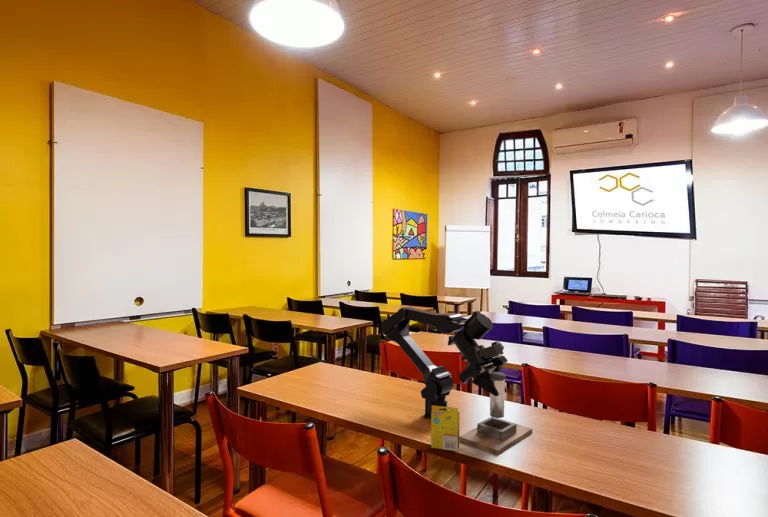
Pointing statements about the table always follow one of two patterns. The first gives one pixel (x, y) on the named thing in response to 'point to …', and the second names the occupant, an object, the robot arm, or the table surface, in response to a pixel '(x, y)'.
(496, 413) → the capped glass jar
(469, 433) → the docking board
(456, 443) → the crayon box
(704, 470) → the table surface
